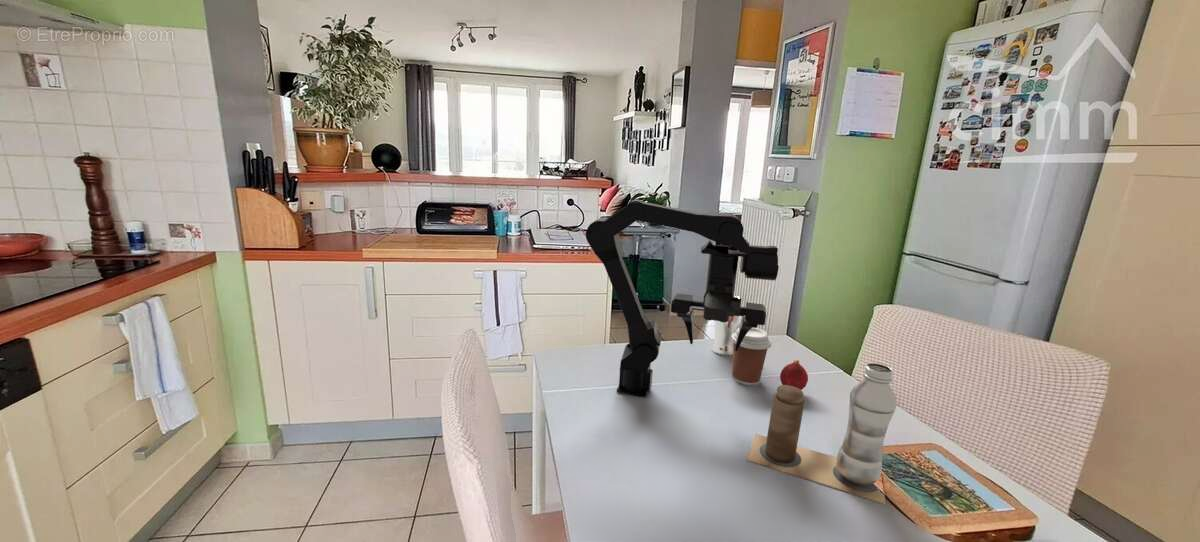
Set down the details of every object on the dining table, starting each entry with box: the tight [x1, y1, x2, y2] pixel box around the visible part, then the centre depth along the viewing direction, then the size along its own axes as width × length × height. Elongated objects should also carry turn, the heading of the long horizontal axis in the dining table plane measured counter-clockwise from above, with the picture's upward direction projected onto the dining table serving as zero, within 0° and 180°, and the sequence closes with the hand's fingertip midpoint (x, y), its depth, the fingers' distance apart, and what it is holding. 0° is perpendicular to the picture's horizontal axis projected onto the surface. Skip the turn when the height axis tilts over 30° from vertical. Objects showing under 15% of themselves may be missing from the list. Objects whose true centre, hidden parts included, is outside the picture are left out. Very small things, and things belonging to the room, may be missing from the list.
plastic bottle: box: [835, 362, 898, 485], centre depth 76 cm, size 6×7×20 cm
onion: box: [779, 359, 809, 391], centre depth 106 cm, size 6×6×8 cm
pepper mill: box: [765, 384, 805, 464], centre depth 82 cm, size 5×5×12 cm
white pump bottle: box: [711, 295, 743, 356], centre depth 126 cm, size 7×7×15 cm
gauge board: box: [746, 433, 886, 505], centre depth 81 cm, size 21×9×1 cm, turn 63°
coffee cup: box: [731, 327, 773, 386], centre depth 111 cm, size 9×9×12 cm
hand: (713, 346), depth 99 cm, fingers open, 9 cm apart
